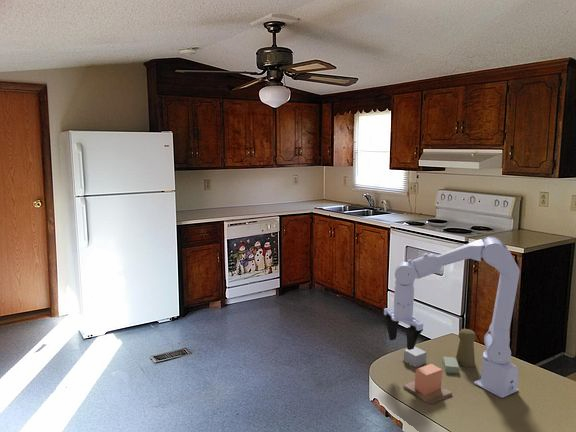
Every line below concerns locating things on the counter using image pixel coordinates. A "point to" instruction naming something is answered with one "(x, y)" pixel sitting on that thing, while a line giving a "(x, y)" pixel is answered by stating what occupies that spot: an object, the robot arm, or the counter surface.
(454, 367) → the flat olive brick
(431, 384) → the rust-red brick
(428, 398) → the walnut board
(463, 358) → the cork
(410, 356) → the white square brick
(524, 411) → the counter surface
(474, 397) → the counter surface
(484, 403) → the counter surface
